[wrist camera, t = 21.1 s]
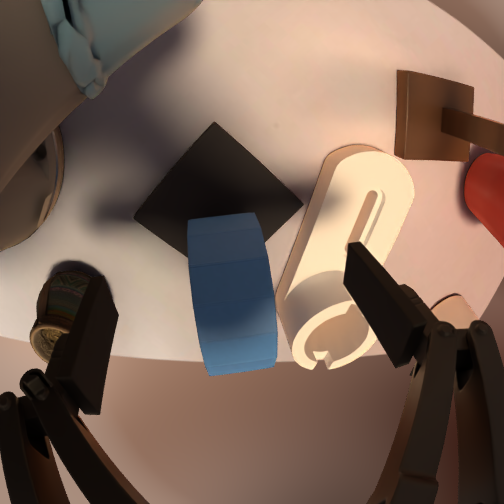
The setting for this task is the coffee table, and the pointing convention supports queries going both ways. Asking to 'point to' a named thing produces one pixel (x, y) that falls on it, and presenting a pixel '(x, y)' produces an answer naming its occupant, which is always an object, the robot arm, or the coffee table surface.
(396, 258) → the coffee table surface
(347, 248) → the robot arm
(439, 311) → the beige cylinder
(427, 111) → the peg stand
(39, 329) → the mate gourd
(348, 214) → the bracket
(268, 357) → the tape roll
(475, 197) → the flower pot
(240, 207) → the mat
